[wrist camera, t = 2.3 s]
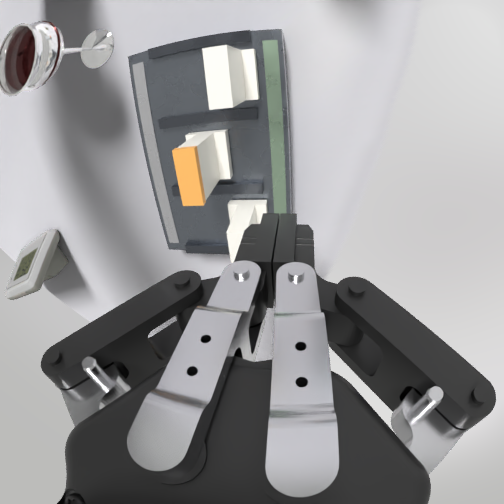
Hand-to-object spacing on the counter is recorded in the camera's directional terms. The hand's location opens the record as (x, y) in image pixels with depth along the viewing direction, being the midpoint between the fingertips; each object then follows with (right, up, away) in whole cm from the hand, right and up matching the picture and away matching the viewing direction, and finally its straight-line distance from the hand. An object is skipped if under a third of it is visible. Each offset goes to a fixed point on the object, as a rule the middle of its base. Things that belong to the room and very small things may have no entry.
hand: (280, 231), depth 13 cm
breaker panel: (-4, +10, +14) cm, 18 cm away
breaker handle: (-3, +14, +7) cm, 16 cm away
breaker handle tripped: (-5, +8, +12) cm, 15 cm away
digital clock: (-39, 0, +29) cm, 48 cm away
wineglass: (-18, +22, +8) cm, 30 cm away
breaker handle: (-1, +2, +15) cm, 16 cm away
